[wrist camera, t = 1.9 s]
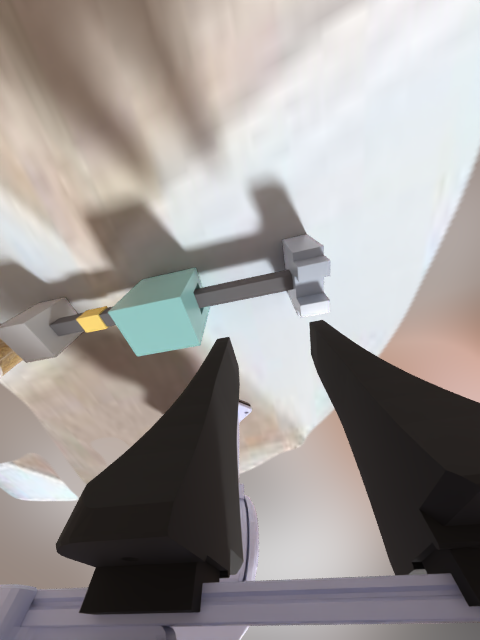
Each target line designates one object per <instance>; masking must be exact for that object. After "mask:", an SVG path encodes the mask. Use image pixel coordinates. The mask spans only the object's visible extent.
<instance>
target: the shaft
mask: <svg viewBox="0 0 480 640" xmlns="http://www.w3.org/2000/svg"><path fill="white" fill-rule="evenodd" d="M288 290H293V279H292V274H291V272H290V270H284V271H279V272H275V273H270V274H265V275H260V276H256V277H251V278H246V279H241V280H237V281H232V282H227V283H223V284H218V285H213V286H208V287H204V288H199V289H195V290H194V292H193V293H194V295H195V298H196V301H197V303H198V306H199V308H203V307H208V306H213V305H218V304H223V303H228V302H233V301H238V300H243V299H248V298H253V297H258V296H263V295H268V294H273V293H278V292H283V291H288ZM111 308H112V307H109V308H108V307H107V306H105V307H101V308H96V309H91V310H87V311H85V312H84V313H81V314H76V315H72V316H67V317H62V318H59V319H57V320H56V321H54V322H53V323H52V324H50V325H49V326H50V327H51V329H52V330H53V331H54V332H55V333H56V334H57V335H58V336H63V335H68V334H73V333H78V332H83V331H85V332H86V333H88V332H93V331H98V330H103V329H107V328H108V327H109V326H113V325H116V324H115V322H114V321H113V319H112V318H111V316H110V315H109V313H108V311H109V310H110V309H111Z"/></svg>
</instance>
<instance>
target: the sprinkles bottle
mask: <svg viewBox="0 0 480 640" xmlns="http://www.w3.org/2000/svg"><path fill="white" fill-rule="evenodd" d="M22 360H23V359H22V358H21V357H20V356H18V355H17V354H16V353H15V352H14V351H13V350H12V349H11V348H10V347H9V346H8V345H7V344H6V343H5V342H3V341H2V340H1V339H0V378H1V377H2V376H3V375H4V374H5V373H7V372H8V371H9V370H10V369H12V368H13V367H14V366H15V365H17V364H18V363H19V362H20V361H22Z"/></svg>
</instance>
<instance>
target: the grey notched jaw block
mask: <svg viewBox="0 0 480 640" xmlns="http://www.w3.org/2000/svg"><path fill="white" fill-rule="evenodd" d="M282 244H283V253H284V262H285V270H290V272H291V274H292V279H293V290H288V295H289V297H290V299H291V302H292V304H293V306H294V308H295V310H296V313H297V315H298V316H301V318H302V317H308V316H313V315H318V314H324V313H329V312H330V300H329V298H328V297H327V296H326V295H325V293H324V277H326V276H330V260H329V259H328V258H327V257H326V256H324V246H323V245H322V244H320V243H319V242H317V241H316V240H315V239H313V238H312V237H310V236H309V235H307V234H305V235H301V236H296V237H292V238H287V239H283V240H282Z"/></svg>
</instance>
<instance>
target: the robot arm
mask: <svg viewBox="0 0 480 640" xmlns="http://www.w3.org/2000/svg"><path fill="white" fill-rule="evenodd" d="M310 342H311V355H312V358H313V361H314V364H315V367H316V370H317V373H318V375H319V377H320V379H321V381H322V383H323V385H324V387H325V390H326V392H327V394H328V396H329V398H330V400H331V402H332V404H333V406H334V408H335V410H336V412H337V414H338V416H339V418H340V421H341V423H342V425H343V428H344V431H345V433H346V436H347V438H348V441H349V444H350V446H351V449H352V452H353V454H354V457H355V460H356V463H357V466H358V468H359V471H360V474H361V477H362V480H363V483H364V485H365V488H366V491H367V494H368V497H369V500H370V502H371V506H372V509H373V512H374V515H375V518H376V521H377V524H378V526H379V530H380V533H381V536H382V539H383V542H384V545H385V548H386V551H387V554H388V557H389V560H390V563H391V565H392V568H393V571H394V573H395V576H370V577H345V578H322V579H321V578H319V579H295V580H269V581H268V580H267V581H255V575H256V571H257V565H258V555H259V529H258V519H257V513H256V509H255V507H254V504H253V503H252V501H251V499H250V497H249V496H248V495H244V484H240V483H239V422H240V421H241V420H243V419H244V418H245V417H246V416H247V415H248V414H249V413H250V412H251V411H252V408H251V407H250V406H247V405H245V404H242V403H240V402H239V386H240V383H239V367H238V363H237V360H236V357H235V354H234V350H233V347H232V344H231V341H230V338H229V337H226V338H220V339H217V340H216V342H215V344H214V345H213V347H212V349H211V351H210V352H209V354H208V356H207V357H206V359H205V361H204V362H203V364H202V365H201V367H200V369H199V370H198V372H197V373H196V375H195V376H194V378H193V379H192V380H191V382H190V383H189V385H188V386H187V388H186V389H185V390H184V392H183V393H182V394H181V395H180V397H179V398H178V399H177V400H176V401H175V403H174V404H173V405H172V406H171V407H170V409H169V410H168V411H167V412H166V413H165V414H164V415H163V416H162V417H161V418H160V419H159V420H158V421H157V422H156V423H155V424H154V426H153V427H152V428H151V429H150V430H149V431H148V432H147V433H145V434H144V435H143V436H142V437H141V438H140V439H139V440H138V441H137V442H136V443H135V444H134V445H133V446H132V447H131V448H129V449H128V450H127V451H126V452H125V453H124V454H123V455H122V456H121V457H119V458H118V459H117V460H116V461H115V462H113V463H112V464H111V465H110V466H108V467H107V468H106V469H105V470H104V471H102V472H101V473H100V474H99V475H98V476H96V477H95V478H94V479H93V480H91V481H90V482H89V483H88V484H87V485H86V487H85V489H84V491H83V492H82V494H81V497H80V498H79V500H78V502H77V504H76V506H75V508H74V510H73V512H72V514H71V516H70V518H69V520H68V522H67V524H66V526H65V527H64V529H63V531H62V533H61V535H60V537H59V539H58V541H57V543H56V549H57V552H58V553H59V554H60V555H62V556H64V557H67V558H69V559H73V560H75V561H79V562H81V563H85V564H87V565H91V566H94V567H96V569H95V571H94V574H93V577H92V579H91V582H90V584H89V587H88V588H63V589H39V590H37V589H36V587H31V586H26V585H16V584H5V585H0V640H240V639H241V638H242V637H243V635H244V634H245V632H246V631H247V629H248V628H249V626H261V625H262V626H263V625H332V624H333V625H335V624H336V625H337V624H404V623H405V624H406V623H407V624H408V623H476V622H477V623H480V403H478V402H475V401H473V400H470V399H467V398H465V397H462V396H460V395H458V394H455V393H453V392H450V391H448V390H445V389H443V388H440V387H438V386H436V385H434V384H431V383H429V382H427V381H424V380H422V379H420V378H418V377H415V376H413V375H411V374H409V373H407V372H405V371H403V370H401V369H399V368H397V367H395V366H393V365H391V364H390V363H388V362H386V361H384V360H382V359H380V358H379V357H377V356H375V355H374V354H372V353H370V352H369V351H367V350H365V349H364V348H362V347H360V346H359V345H357V344H356V343H354V342H353V341H351V340H350V339H349V338H347V337H346V336H344V335H343V334H341V333H340V332H339V331H337V330H336V329H334V328H333V327H332V326H330V325H329V324H328V323H326V322H325V321H323V320H320V321H315V322H310Z"/></svg>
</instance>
